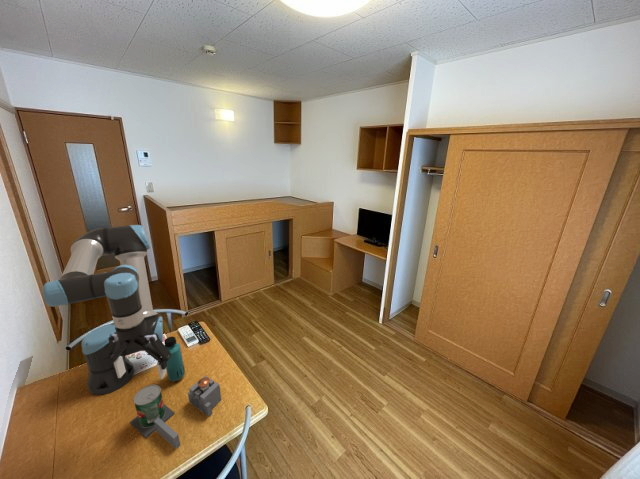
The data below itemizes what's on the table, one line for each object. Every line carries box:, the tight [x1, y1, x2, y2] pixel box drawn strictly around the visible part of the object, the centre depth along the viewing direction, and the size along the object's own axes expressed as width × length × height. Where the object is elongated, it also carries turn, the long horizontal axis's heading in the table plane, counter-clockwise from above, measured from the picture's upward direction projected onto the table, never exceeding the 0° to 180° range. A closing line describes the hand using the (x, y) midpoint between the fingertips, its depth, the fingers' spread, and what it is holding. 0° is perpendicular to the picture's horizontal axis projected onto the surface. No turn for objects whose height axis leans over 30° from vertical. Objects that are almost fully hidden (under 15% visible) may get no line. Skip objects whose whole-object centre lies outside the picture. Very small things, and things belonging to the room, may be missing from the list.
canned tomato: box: [133, 384, 165, 428], centre depth 91 cm, size 8×8×11 cm
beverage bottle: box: [163, 336, 186, 382], centre depth 106 cm, size 6×7×20 cm
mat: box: [129, 403, 176, 439], centre depth 92 cm, size 10×10×1 cm
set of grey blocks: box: [154, 375, 222, 450], centre depth 93 cm, size 11×20×8 cm, turn 151°
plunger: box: [197, 376, 211, 394], centre depth 97 cm, size 4×4×7 cm
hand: (142, 375), depth 86 cm, fingers open, 13 cm apart
